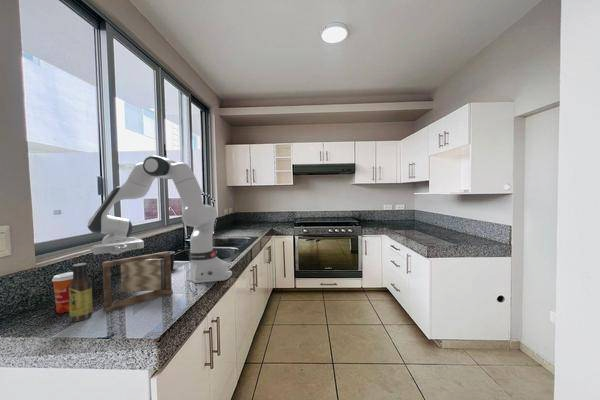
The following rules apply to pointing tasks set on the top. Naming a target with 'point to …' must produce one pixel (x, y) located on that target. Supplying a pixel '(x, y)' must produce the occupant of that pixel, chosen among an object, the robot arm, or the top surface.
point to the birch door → (143, 275)
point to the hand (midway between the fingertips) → (122, 248)
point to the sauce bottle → (80, 294)
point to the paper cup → (62, 291)
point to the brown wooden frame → (139, 298)
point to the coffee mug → (170, 259)
